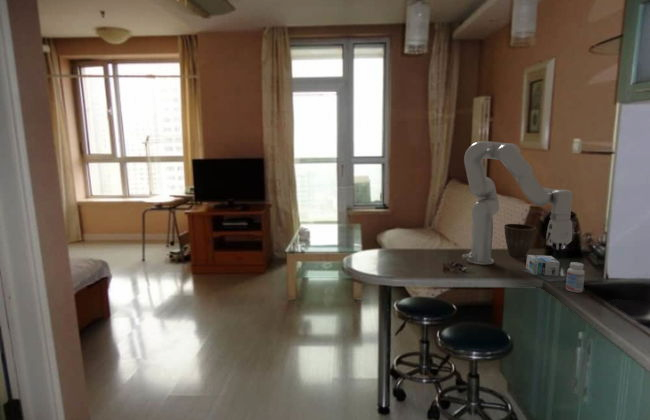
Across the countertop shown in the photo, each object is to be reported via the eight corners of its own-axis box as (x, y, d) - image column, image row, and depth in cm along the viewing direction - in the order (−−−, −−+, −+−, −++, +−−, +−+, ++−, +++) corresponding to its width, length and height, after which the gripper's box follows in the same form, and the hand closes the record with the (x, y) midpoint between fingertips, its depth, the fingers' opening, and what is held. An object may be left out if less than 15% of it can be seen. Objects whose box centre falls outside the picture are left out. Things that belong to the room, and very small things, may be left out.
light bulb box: (560, 262, 183) (534, 260, 184) (558, 276, 184) (532, 275, 185) (551, 255, 193) (526, 254, 195) (549, 269, 194) (525, 268, 196)
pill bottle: (562, 287, 170) (564, 261, 168) (576, 287, 170) (578, 261, 169) (572, 293, 164) (574, 266, 162) (586, 292, 165) (589, 265, 163)
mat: (548, 281, 177) (548, 281, 177) (523, 270, 193) (523, 270, 193) (570, 280, 180) (570, 279, 180) (543, 269, 195) (543, 268, 195)
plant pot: (523, 252, 225) (526, 223, 223) (539, 259, 211) (541, 229, 208) (497, 252, 225) (499, 223, 222) (510, 260, 210) (513, 229, 207)
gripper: (552, 219, 178) (548, 260, 181) (581, 218, 181) (577, 258, 184) (539, 216, 185) (536, 256, 188) (567, 215, 188) (564, 254, 191)
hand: (556, 257), depth 186 cm, fingers closed
